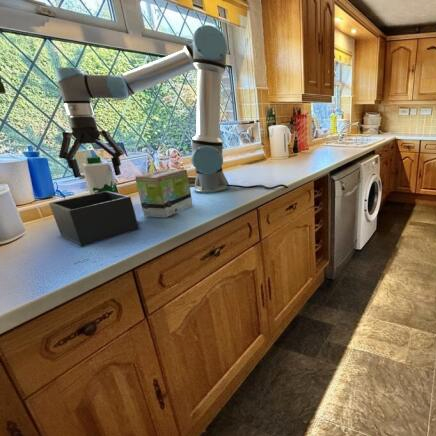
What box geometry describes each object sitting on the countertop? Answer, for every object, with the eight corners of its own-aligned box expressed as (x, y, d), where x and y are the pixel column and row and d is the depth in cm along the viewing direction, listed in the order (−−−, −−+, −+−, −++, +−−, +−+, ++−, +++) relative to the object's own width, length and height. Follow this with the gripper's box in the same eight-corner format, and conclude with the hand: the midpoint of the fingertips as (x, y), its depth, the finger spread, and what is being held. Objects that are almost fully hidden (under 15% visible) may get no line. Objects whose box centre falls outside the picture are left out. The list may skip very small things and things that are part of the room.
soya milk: (120, 204, 124) (106, 155, 117) (124, 209, 118) (109, 157, 111) (94, 209, 119) (78, 158, 112) (96, 214, 112) (79, 160, 106)
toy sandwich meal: (210, 184, 152) (209, 175, 151) (181, 188, 148) (179, 178, 146) (209, 179, 163) (208, 171, 162) (182, 182, 159) (181, 173, 157)
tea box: (168, 218, 106) (158, 176, 101) (143, 217, 108) (133, 176, 103) (194, 205, 120) (186, 168, 114) (171, 204, 122) (163, 168, 116)
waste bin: (116, 220, 105) (107, 190, 102) (139, 228, 97) (130, 196, 93) (61, 236, 93) (48, 203, 89) (81, 247, 85) (69, 210, 81)
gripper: (33, 117, 101) (54, 180, 108) (115, 115, 105) (130, 175, 112) (47, 117, 108) (66, 176, 115) (124, 115, 112) (138, 171, 119)
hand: (98, 176), depth 114 cm, fingers open, 13 cm apart
